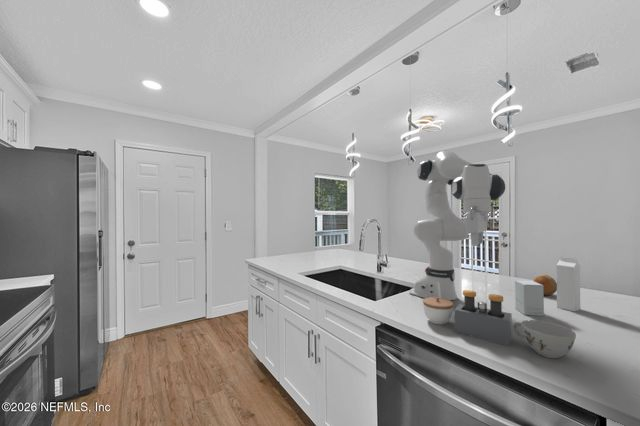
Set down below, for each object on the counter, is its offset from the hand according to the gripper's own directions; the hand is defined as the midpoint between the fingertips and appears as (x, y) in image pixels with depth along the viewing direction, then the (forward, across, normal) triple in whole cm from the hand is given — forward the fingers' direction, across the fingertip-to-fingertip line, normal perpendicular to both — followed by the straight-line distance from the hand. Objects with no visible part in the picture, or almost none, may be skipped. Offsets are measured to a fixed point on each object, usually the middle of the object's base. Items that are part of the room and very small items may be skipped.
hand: (477, 244), depth 98 cm
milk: (+30, +47, -27) cm, 62 cm away
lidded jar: (+31, -2, +14) cm, 34 cm away
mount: (+31, -4, -2) cm, 31 cm away
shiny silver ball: (+23, -4, -2) cm, 23 cm away
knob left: (+26, -4, +2) cm, 26 cm away
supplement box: (+30, +31, -14) cm, 45 cm away
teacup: (+31, -6, -18) cm, 37 cm away
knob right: (+26, -4, -6) cm, 27 cm away
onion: (+30, +65, -19) cm, 74 cm away
